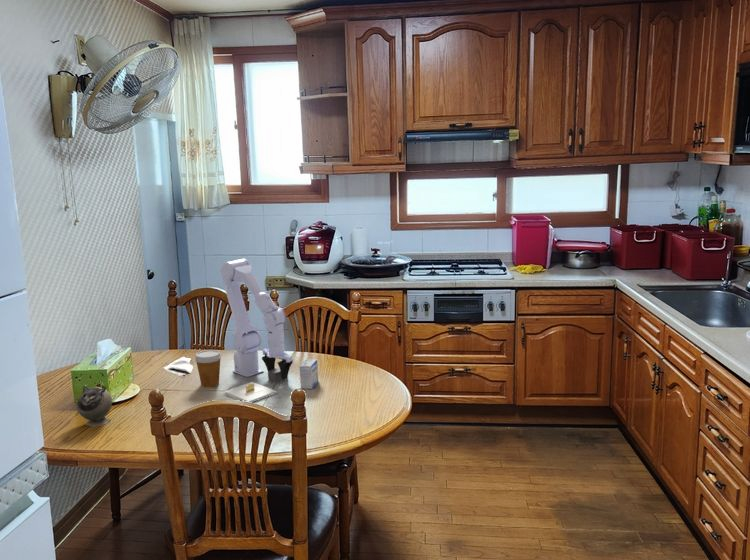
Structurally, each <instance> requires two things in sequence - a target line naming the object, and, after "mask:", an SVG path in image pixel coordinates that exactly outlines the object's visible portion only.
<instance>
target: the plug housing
mask: <svg viewBox="0 0 750 560" xmlns="http://www.w3.org/2000/svg"><path fill="white" fill-rule="evenodd" d="M267 375H268V376H267V378H268V382H270V381H271V383H273V384H277V382H278V383H281V382H282V381H283V379H282V378H281V371H280V367H279V366H278V367H276V368H275V369H272V370H269V371H268V370H267ZM288 379H289V376H288V377H287V378H286V380H288ZM286 380H285V379H284V381H286ZM280 381H281V382H280ZM284 381H283V382H284Z"/></svg>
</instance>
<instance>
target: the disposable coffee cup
mask: <svg viewBox="0 0 750 560" xmlns="http://www.w3.org/2000/svg"><path fill="white" fill-rule="evenodd" d="M221 358H222V354H221V352H220V351H219V350H216V349H205V350H201V351H198V352H196V353H195V357H194V360H195V362H196V367H197V370H198V376H199V379H200V385H201V386H200V387H203V388H214V387H217V386H219V384H220V372H221V371H220V370H221Z"/></svg>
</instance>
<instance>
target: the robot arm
mask: <svg viewBox="0 0 750 560" xmlns="http://www.w3.org/2000/svg"><path fill="white" fill-rule="evenodd" d="M219 272H220V275H221V278H222V282H223V286H224V290H225V293H226V294H225V295H226V298H227V300H228V304H229V307H230V311H231V313H232V314H231V315H232V317H233V320H234V325H235V328H236V329H235V330H234V332H232V334H231V335H232V339H233V342H232V343H233V348H234V349H235V351H234V354H233V364H234V366H233V368H234V370H232V372H233V373H235V374H237V375H241V376H243V377H245V378H249V377H252V376H255V375H258V374H260V373H264V369H260V368H259V353H258V350H259V349H260V346H261V344H262V337H261V335H260V332H258V328H257V326H255V325H253V324H251V322H250V318H249V315H248V311H247V308H246V305H245V301H244V297H243V293H242V291H241V287H240V285H241V283H242V282H243V284H244V286H245V287H246V288H247V289H248V290H249V291H250V292H251V294H252V295H253V296H254V303H255V305H256V306H257V308H258V309H259V311H260V312H261V313H262V315H263V322H264V324H265V327H266V328H265V329H266V331H267V340H268V342H267V344H268V348H264V349H262V355H263V356H262V357H261V360H262V361H263V362H264V364H265V367H266V369H267V372H268V371H269V370H272V369H275V367H276V366H275V365H276V364H275V363H276V359H278V360H280V361H278V362H277V365H278V367H280V371H281V378H282V379H283V380H284V379H286V378H287V377H288V378H289V376H288V375H289V371H290V369H291V366H292V364H293V362H294V361H293V359H292V357H293V356H292V355H290V354H288V353H287V352H286V351H285V336H284V333H285V332H284V323H285V322H286V320H287V314H286V312H285V310H284V309H283V308H281V307H279V306H278V305H276V303H275V302H274V301H273V299H272V297H271V296H270V294H269V293H268V292H264V291H263V289H262V288H261V286H260V284H259V283H258V281H257V279H256V278H255V276H254V273H253V266H252V265H251V264H250V262H249V260H248V259H246V258H240V259H235V260H231V261H225V262H223V263H222V265H221V267H220V270H219ZM286 380H287V379H286ZM284 381H285V380H284Z"/></svg>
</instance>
